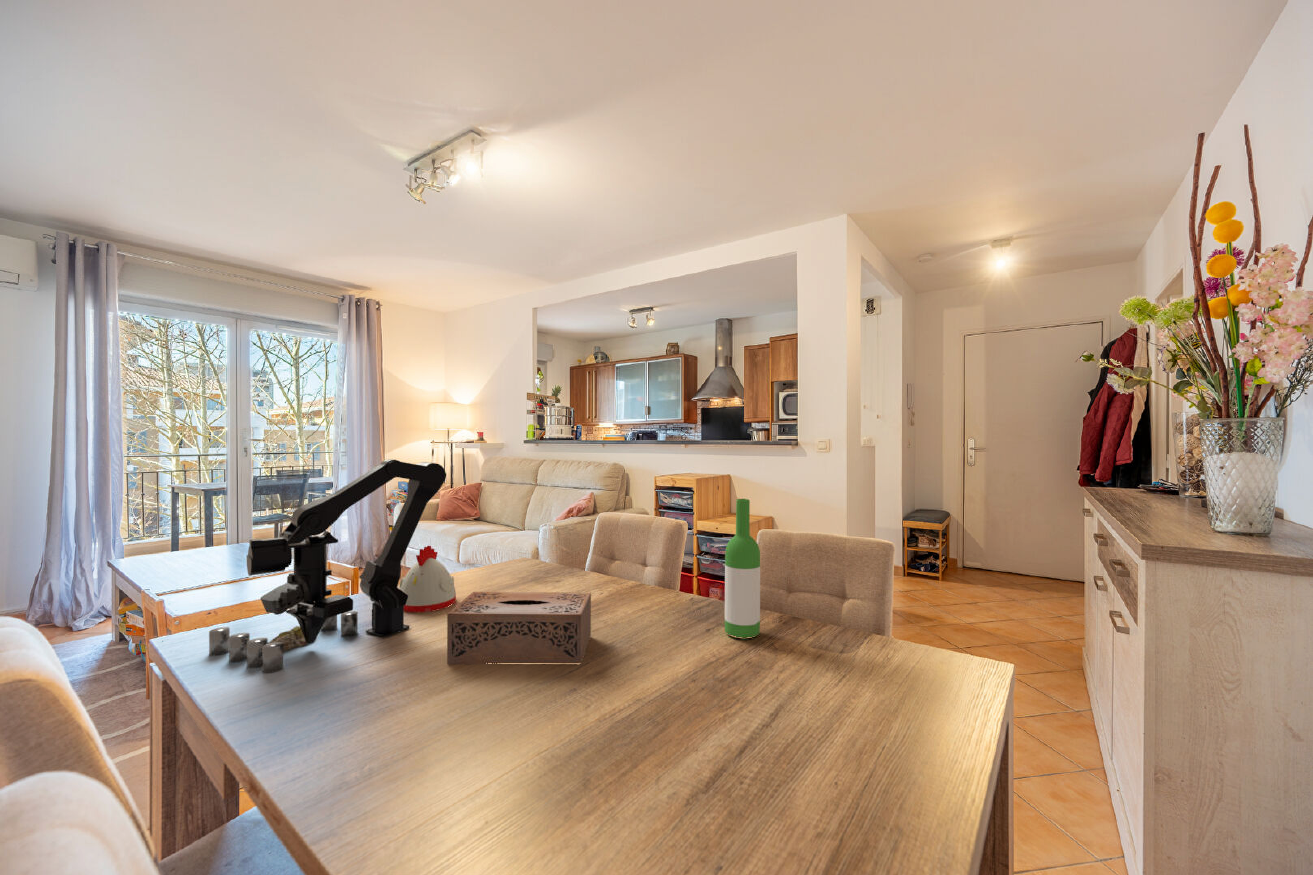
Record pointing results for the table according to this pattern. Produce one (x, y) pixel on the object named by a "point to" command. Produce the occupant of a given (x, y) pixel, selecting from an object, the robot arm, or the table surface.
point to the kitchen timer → (428, 584)
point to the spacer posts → (266, 653)
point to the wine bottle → (742, 578)
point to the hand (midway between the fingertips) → (310, 643)
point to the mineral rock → (290, 638)
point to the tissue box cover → (519, 628)
